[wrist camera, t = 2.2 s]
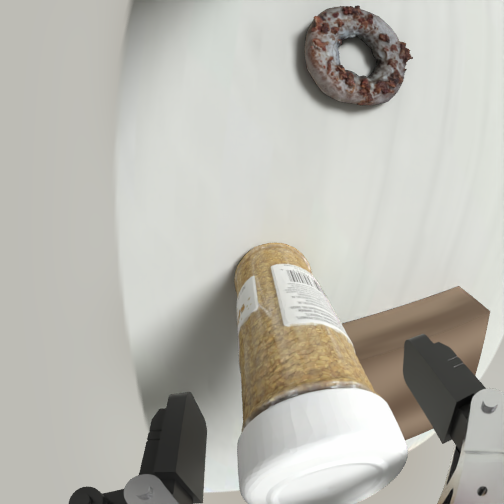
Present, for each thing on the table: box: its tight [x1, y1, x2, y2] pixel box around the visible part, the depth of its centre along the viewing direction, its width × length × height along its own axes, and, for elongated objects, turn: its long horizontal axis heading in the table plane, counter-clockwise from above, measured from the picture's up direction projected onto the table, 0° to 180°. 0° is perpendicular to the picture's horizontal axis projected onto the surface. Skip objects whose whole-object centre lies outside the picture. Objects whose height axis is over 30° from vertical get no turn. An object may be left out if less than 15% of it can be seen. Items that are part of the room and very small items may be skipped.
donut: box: [305, 6, 413, 105], centre depth 14 cm, size 8×8×2 cm
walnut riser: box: [342, 286, 490, 440], centre depth 20 cm, size 11×11×4 cm
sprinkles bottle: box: [234, 243, 408, 504], centre depth 12 cm, size 5×5×13 cm
